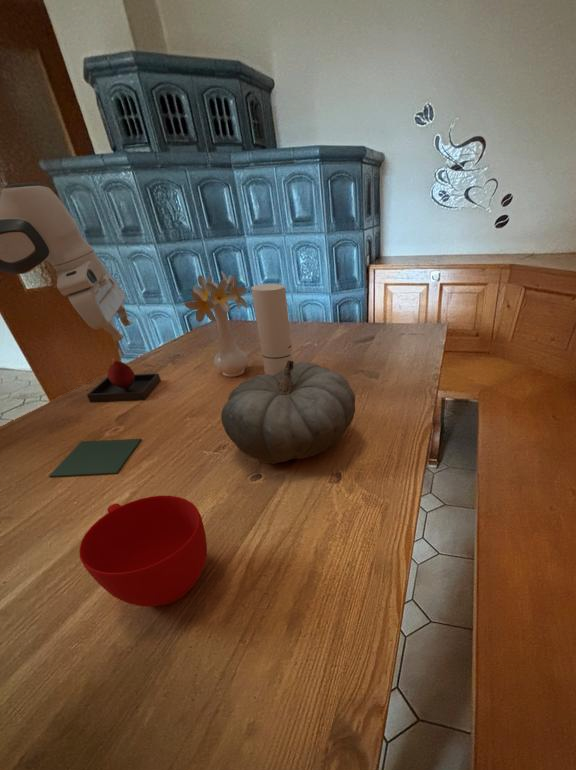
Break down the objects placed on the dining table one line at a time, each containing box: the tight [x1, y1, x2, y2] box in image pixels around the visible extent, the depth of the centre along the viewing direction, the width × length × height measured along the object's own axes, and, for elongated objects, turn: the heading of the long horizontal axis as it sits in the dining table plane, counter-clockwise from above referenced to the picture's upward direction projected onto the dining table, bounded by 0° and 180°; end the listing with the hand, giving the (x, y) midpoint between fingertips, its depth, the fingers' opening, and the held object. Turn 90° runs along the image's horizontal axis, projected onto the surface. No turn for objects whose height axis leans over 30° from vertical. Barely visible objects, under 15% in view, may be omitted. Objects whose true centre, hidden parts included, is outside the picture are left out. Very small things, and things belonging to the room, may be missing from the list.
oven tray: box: [86, 373, 162, 403], centre depth 100 cm, size 13×12×2 cm
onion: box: [107, 358, 136, 390], centre depth 97 cm, size 6×6×8 cm
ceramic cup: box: [78, 495, 208, 607], centre depth 49 cm, size 13×17×10 cm
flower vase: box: [184, 270, 249, 378], centre depth 101 cm, size 13×18×25 cm
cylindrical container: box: [250, 283, 295, 376], centre depth 89 cm, size 7×7×25 cm
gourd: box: [220, 360, 356, 464], centre depth 73 cm, size 25×25×17 cm
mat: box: [48, 438, 142, 478], centre depth 75 cm, size 12×12×1 cm
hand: (124, 331), depth 94 cm, fingers open, 8 cm apart
